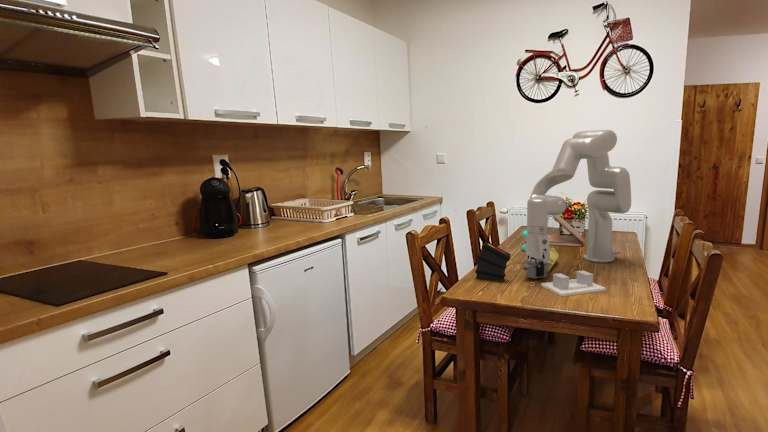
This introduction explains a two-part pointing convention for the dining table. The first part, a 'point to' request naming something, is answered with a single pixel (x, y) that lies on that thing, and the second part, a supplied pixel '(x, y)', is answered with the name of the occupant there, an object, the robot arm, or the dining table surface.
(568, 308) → the dining table surface
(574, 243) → the case
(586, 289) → the cradle
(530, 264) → the servo
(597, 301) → the dining table surface
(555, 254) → the plastic component
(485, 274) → the black ridged block
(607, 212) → the robot arm
